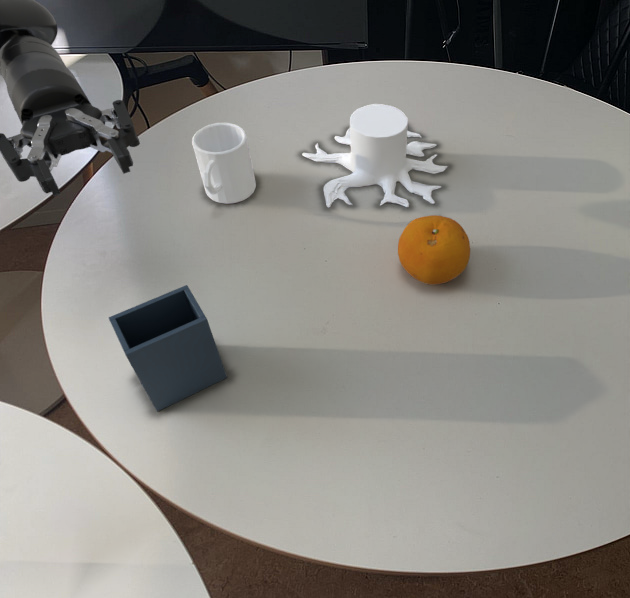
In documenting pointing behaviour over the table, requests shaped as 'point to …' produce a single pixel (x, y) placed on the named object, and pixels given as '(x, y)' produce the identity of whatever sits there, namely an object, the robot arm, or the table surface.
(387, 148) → the white tree stump
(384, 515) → the table surface
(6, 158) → the robot arm
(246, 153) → the mug
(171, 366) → the bin
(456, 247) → the fruit
